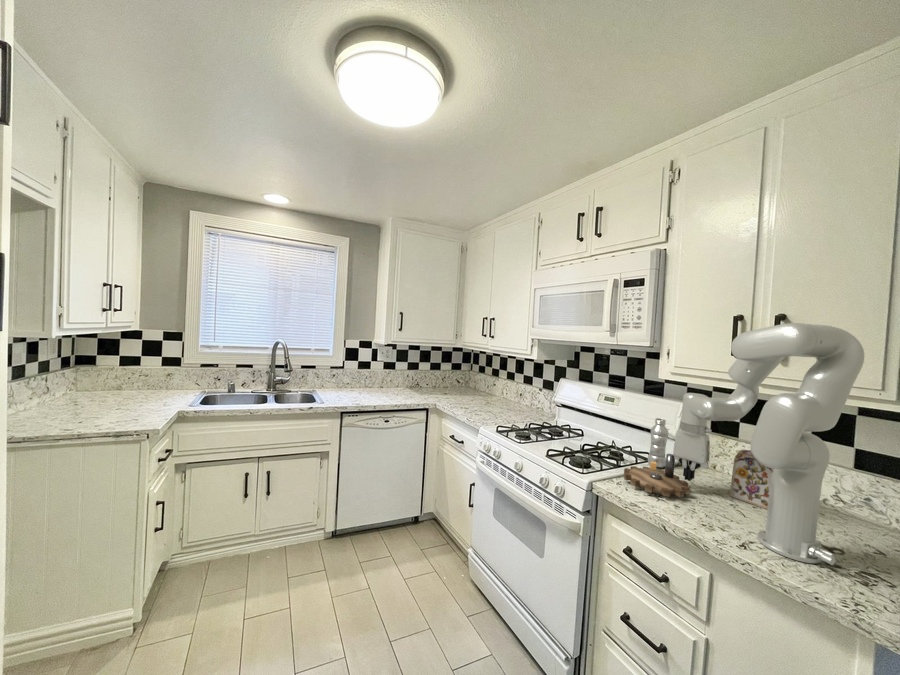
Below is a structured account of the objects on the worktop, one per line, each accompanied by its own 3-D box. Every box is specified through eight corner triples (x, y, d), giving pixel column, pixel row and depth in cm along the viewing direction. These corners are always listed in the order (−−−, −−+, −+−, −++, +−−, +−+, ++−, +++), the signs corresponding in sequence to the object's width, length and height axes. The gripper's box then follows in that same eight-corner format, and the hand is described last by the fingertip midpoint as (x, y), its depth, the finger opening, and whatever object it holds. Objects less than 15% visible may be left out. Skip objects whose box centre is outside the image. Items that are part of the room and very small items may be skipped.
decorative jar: (772, 512, 115) (778, 457, 114) (728, 496, 124) (733, 446, 124) (782, 503, 122) (787, 452, 121) (739, 489, 131) (744, 441, 131)
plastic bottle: (644, 462, 153) (648, 416, 152) (661, 464, 152) (665, 418, 151) (650, 468, 147) (655, 420, 146) (668, 470, 146) (672, 422, 145)
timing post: (655, 476, 138) (656, 464, 138) (649, 475, 139) (650, 462, 139) (655, 474, 140) (656, 462, 140) (649, 473, 141) (650, 461, 140)
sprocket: (658, 499, 115) (661, 469, 115) (611, 473, 135) (613, 447, 134) (703, 494, 122) (706, 465, 121) (652, 469, 141) (654, 444, 141)
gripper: (721, 432, 122) (716, 485, 122) (672, 421, 133) (668, 469, 134) (716, 436, 117) (710, 490, 117) (665, 424, 128) (661, 474, 129)
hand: (688, 479), depth 126 cm, fingers closed
